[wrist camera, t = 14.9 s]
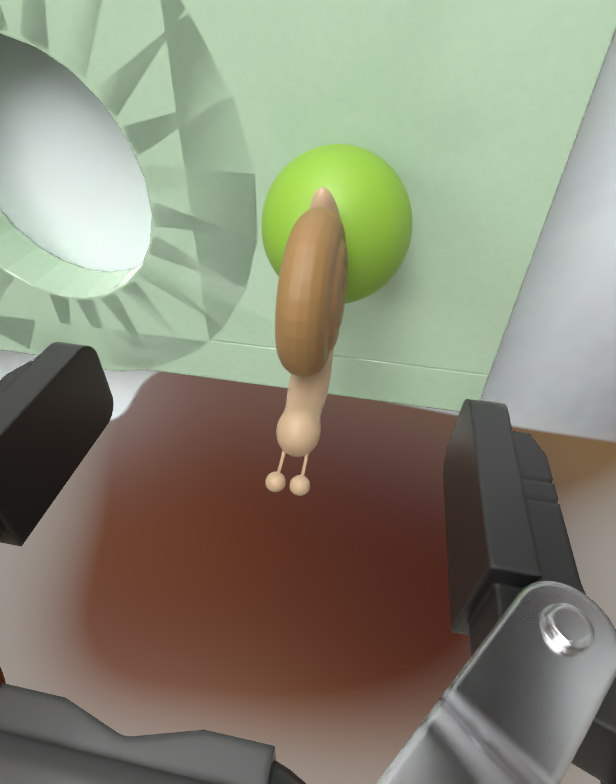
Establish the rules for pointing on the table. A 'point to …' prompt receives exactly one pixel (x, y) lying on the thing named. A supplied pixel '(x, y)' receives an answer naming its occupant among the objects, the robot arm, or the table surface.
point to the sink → (292, 138)
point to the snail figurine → (326, 271)
